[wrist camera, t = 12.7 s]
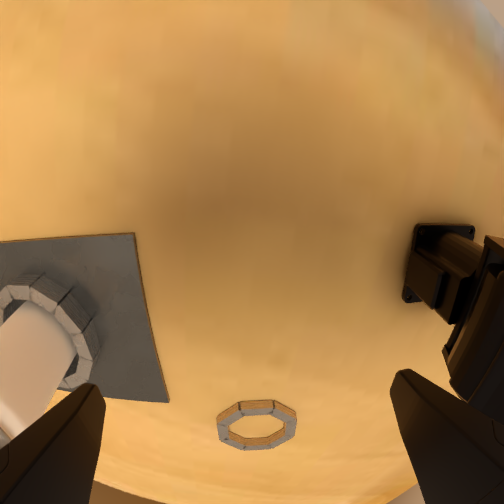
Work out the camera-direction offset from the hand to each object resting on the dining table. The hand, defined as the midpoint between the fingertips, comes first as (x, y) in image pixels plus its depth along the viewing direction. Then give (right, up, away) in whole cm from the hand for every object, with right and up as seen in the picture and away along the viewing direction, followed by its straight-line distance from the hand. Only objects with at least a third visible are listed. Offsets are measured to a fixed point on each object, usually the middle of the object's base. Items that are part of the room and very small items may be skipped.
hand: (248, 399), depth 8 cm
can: (-17, -2, +14) cm, 22 cm away
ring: (+1, -13, +19) cm, 23 cm away
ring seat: (-18, -2, +14) cm, 23 cm away
